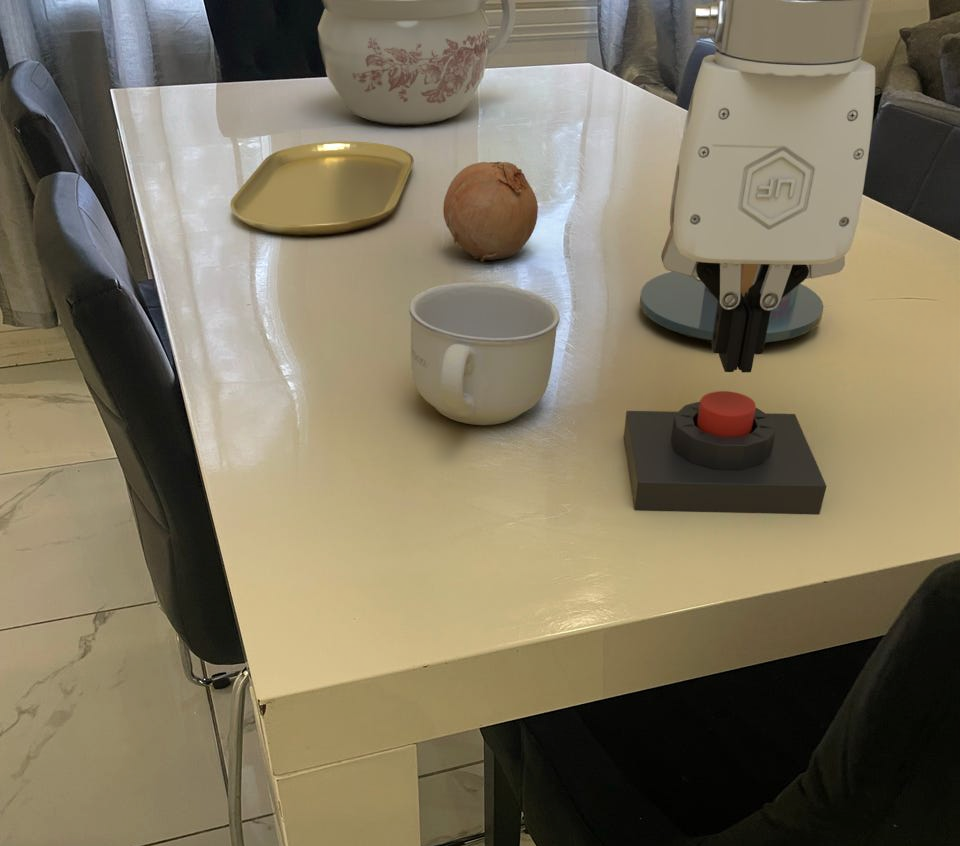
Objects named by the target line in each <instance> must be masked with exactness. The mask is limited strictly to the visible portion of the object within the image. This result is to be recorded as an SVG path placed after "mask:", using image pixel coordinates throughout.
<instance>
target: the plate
mask: <svg viewBox="0 0 960 846" xmlns="http://www.w3.org/2000/svg"><path fill="white" fill-rule="evenodd" d="M758 265H759V264H741V293H742V295H743V297H744V296H745V293H748V290H749V288H750V287H751V286H752V284H753V281H754V277H755V274H756V271H757V268H758ZM639 297H640V298H639V305H640V309H641V311H642V312H643V314H645V315H646V317H647V318H649V319H650V320H651V321H652V322H654V323H656V324H658V325H659V326H661V327H663V328H666V329H667V330H670V331H673V332H676V333H678V334H680V333H682V334H681V335H683V334H685V335H688V336H693V337H697V338H701V339H707V340H712V336H713V329H714V323H715V316H716V310H717V303H718V300H717V299H716V298H715V296H714V295H713V294H712V293H711V292H710V290H709V289H708V288H707V287H706V286H705V285H704V283H703V282H702V281H701V280H700V279H699V278H697V277H693V276H692V277H691V276H687V275H683V274H680V273H676V272H672V271H669V272H665V273H662V274H660V275H657V276H655V277H653V278H651V279H650V280H649V281H647V282H646V283H645V284H644V285H643V286H642V288H641V290H640V296H639ZM823 313H824V303H823V301H822V298H821V297H820V296H819V295H818V294H817V293H816V292H815V291H814V290H812V289H811V288H810V287H808V286H806V285H804V284H802V283H800V284H799V285H798V286H796V287H795V288H794V289H793V290H791V291H790V292H789V293H788V294H787V295H785V296H784V297H783V298H782V299H781V300H780V303H779V305H778V306H777V307H776V308H775V309H773V310H771V313H770V318H769V323H768V328H767V334H766V339H765V342H768V343H772V342H779V341H785V340H789V339H790V340H791V339H794V338H797V337H801V336H803V335H805V334H807V333H809V332H811V331H812V330H813V329H815V328H816V327H817V326H818V325H819V324H820V322H821V321H822V318H823ZM685 335H684V336H685ZM688 336H687V337H688Z"/></svg>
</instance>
